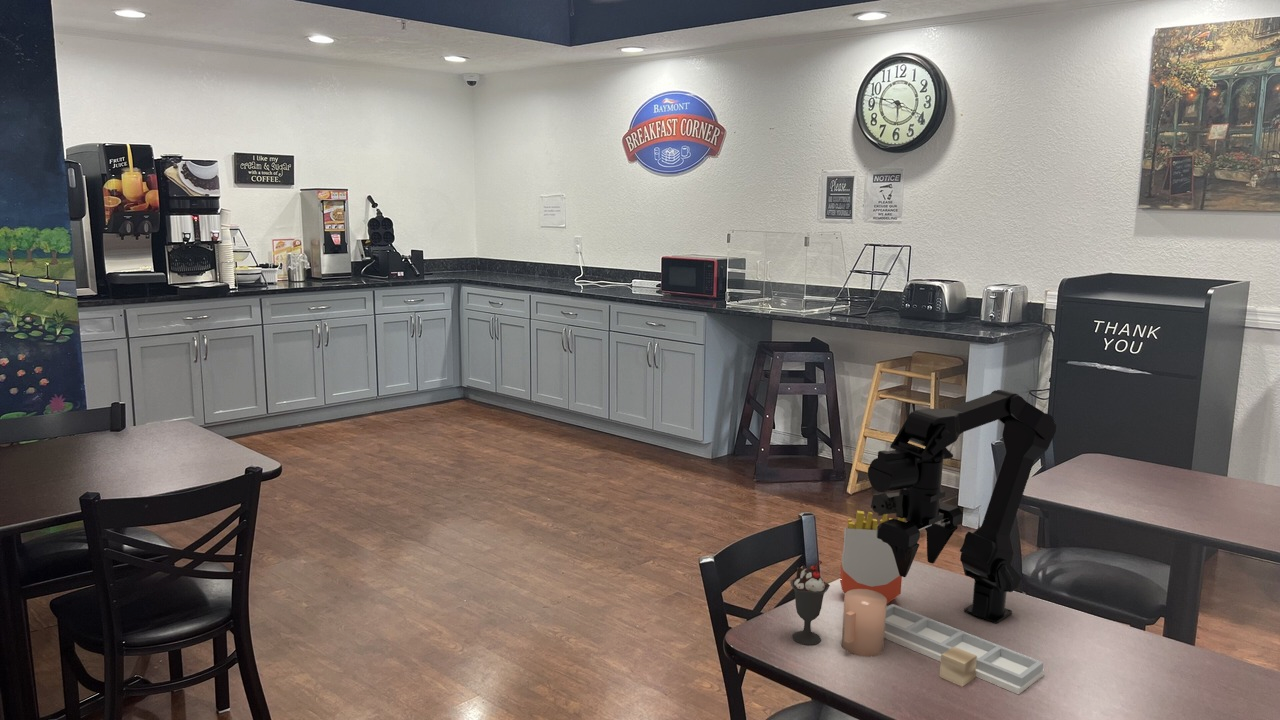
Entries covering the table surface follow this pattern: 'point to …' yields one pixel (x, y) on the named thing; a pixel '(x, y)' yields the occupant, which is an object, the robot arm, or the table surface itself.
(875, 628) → the terracotta mug
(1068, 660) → the table surface
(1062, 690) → the table surface
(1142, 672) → the table surface
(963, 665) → the beech block
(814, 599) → the sundae
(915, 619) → the board
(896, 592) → the french fries container
